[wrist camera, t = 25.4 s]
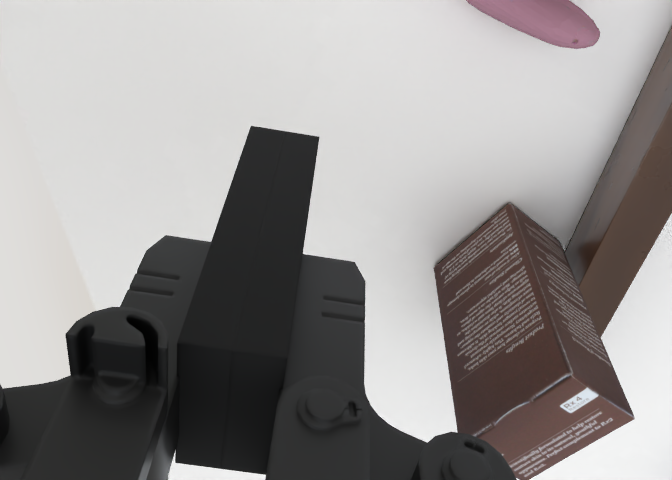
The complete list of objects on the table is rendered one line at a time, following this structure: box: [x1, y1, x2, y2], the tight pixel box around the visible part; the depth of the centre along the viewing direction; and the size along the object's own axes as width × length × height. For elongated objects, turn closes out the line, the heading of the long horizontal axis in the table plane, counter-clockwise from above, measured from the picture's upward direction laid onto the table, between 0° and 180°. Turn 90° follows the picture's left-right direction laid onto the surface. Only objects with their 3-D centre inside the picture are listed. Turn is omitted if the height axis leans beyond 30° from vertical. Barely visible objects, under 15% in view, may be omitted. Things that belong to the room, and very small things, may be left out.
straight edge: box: [565, 27, 672, 338], centre depth 33 cm, size 2×33×3 cm, turn 171°
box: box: [434, 203, 634, 480], centre depth 31 cm, size 6×4×12 cm
